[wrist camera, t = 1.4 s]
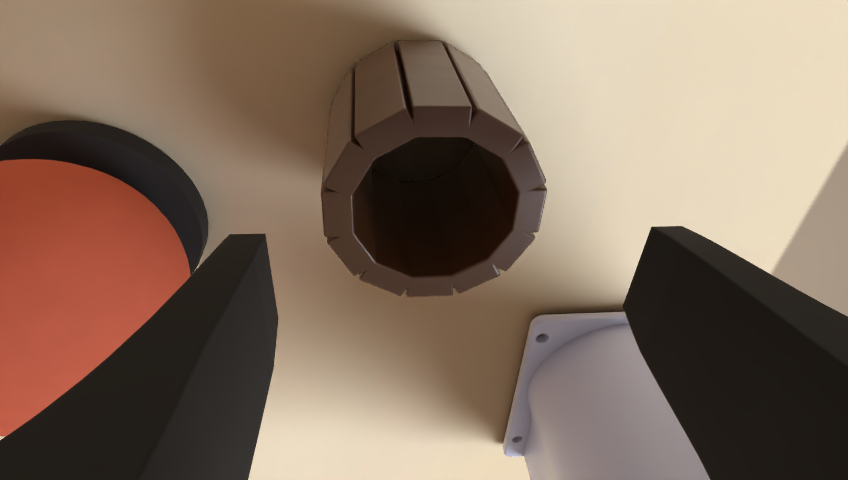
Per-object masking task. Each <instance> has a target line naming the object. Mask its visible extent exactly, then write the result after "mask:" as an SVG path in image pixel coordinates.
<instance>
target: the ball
mask: <svg viewBox="0 0 848 480" xmlns="http://www.w3.org/2000/svg"><path fill="white" fill-rule="evenodd" d="M207 237H208V218H207V212H206V209H205V206H204V203H203V200H202V198H201V196H200V194H199V192H198V190H197V188H196V187H195V185H194V184H193V182H192V181H191V179H190V178H189V177H188V176H187V174H186V173H185V172H184V171H183V170H182V169H181V168H180V167H179V166H178V165H177V164H176V163H175V162H174V161H173V160H172V159H171V158H170V157H168V156H167V155H166V154H164V153H163V152H162V151H161V150H159V149H158V148H156V147H154V146H153V145H151V144H150V143H148V142H146V141H145V140H143V139H141V138H139V137H137V136H135V135H133V134H130V133H127V132H125V131H122V130H120V129H117V128H113V127H110V126H106V125H103V124H97V123H91V122H86V121H53V122H48V123H42V124H38V125H35V126H32V127H29V128H26V129H24V130H22V131H20V132H18V133H17V134H15V135H13V136H12V137H11V138H9V139H8V140H7V141H6V142H4V143H3V144H2V145H0V436H7V435H9V434H10V433H12V432H13V431H14V430H16V429H17V428H19V427H20V426H22V425H23V424H24V423H26V422H27V421H29V420H30V419H32V418H33V417H34V416H36V415H37V414H38V413H40V412H41V411H42V410H44V409H45V408H46V407H47V406H49V405H50V404H51V403H53V402H54V401H55V400H56V399H58V398H59V397H60V396H61V395H63V394H64V393H65V392H67V391H68V390H69V389H70V388H72V387H73V386H74V385H75V384H77V383H78V382H79V381H80V380H82V379H83V378H84V377H85V376H87V375H88V374H89V373H90V372H91V371H93V370H94V369H95V368H96V367H97V366H98V365H100V364H101V363H102V362H103V361H104V360H105V359H106V358H108V357H109V356H110V355H111V354H112V353H113V352H114V351H115V350H116V349H117V348H118V347H120V346H121V345H122V344H123V343H124V342H125V341H126V340H127V339H128V338H129V337H130V336H131V335H132V334H134V333H135V332H136V331H137V330H138V329H139V328H140V327H141V326H142V325H143V324H144V323H145V322H146V321H147V320H148V319H149V318H150V317H152V316H153V315H154V314H155V313H156V312H157V310H158V309H159V308H160V307H161V306H162V305H163V304H164V303H165V302H166V301H167V300H168V299H169V298H170V297H171V296H172V295H173V294H174V293H175V292H176V291H177V290H178V289H179V288H180V287H181V286H182V285H183V284H184V283H185V282H186V281H187V279H188V278H189V277H190V276H191V275H192V274H193V272H194V270H195V269H196V267H197V265H198V263H199V261H200V258H201V256H202V253H203V251H204V248H205V246H206V242H207Z"/></svg>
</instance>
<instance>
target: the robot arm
mask: <svg viewBox="0 0 848 480" xmlns="http://www.w3.org/2000/svg"><path fill="white" fill-rule="evenodd" d="M623 308H624V311H625V312H601V313H575V314H550V315H540V316H537V317H535V318H534V319H533V320H532V322H531V324H530V328H529V332H528V336H527V341H526V345H525V350H524V354H523V359H522V363H521V367H520V372H519V376H518V381H517V385H516V390H515V394H514V398H513V403H512V407H511V412H510V416H509V421H508V425H507V429H506V434H505V438H504V443H503V450H504V454H505V455H507V456H510V457H516V456H524V458H525V461H526V465H527V468H528V472H529V475H530V479H531V480H848V317H847V316H845V315H843V314H841V313H839V312H838V311H836V310H834V309H832V308H830V307H828V306H826V305H824V304H823V303H821V302H819V301H817V300H815V299H813V298H812V297H810V296H808V295H806V294H804V293H802V292H801V291H799V290H797V289H795V288H794V287H792V286H790V285H788V284H786V283H785V282H783V281H781V280H779V279H778V278H776V277H774V276H772V275H771V274H769V273H767V272H765V271H764V270H762V269H760V268H758V267H757V266H755V265H753V264H751V263H750V262H748V261H746V260H745V259H743V258H741V257H739V256H738V255H736V254H734V253H732V252H731V251H729V250H727V249H725V248H723V247H722V246H720V245H718V244H716V243H714V242H713V241H711V240H709V239H707V238H705V237H703V236H701V235H699V234H697V233H695V232H693V231H691V230H689V229H687V228H685V227H682V226H667V227H651V230H650V233H649V235H648V238H647V241H646V244H645V246H644V249H643V252H642V255H641V257H640V260H639V263H638V266H637V269H636V271H635V274H634V277H633V280H632V282H631V285H630V288H629V291H628V293H627V296H626V299H625V302H624V304H623ZM277 327H278V314H277V307H276V301H275V294H274V287H273V281H272V274H271V268H270V261H269V255H268V248H267V242H266V235H265V234H230V235H229V236H228V237H227V238H226V239H225V240H224V241H223V242H222V243H221V244H220V245H219V246H218V247H217V248H216V249H215V250H214V251H213V252H212V253H211V254H210V256H209V257H208V258H207V259H206V260H205V261H204V262H203V263H202V264H201V265H200V267H199V268H198V269H197V270H196V271H195V272H194V273H193V274H192V275H191V276H190V277H189V278H188V279H187V281H186V282H185V283H184V284H183V285H182V286H181V287H180V288H179V289H178V290H177V291H176V292H175V293H174V294H173V295H172V296H171V297H170V298H169V299H168V300H167V301H166V302H165V303H164V304H163V305H162V306H161V307H160V308H159V309H158V310H157V312H156V313H155V314H154V315H153V316H152V317H150V318H149V319H148V320H147V321H146V322H145V323H144V324H143V325H142V326H141V327H140V328H139V329H138V330H137V331H136V332H135V333H134V334H132V335H131V336H130V337H129V338H128V339H127V340H126V341H125V342H124V343H123V344H122V345H121V346H120V347H118V348H117V349H116V350H115V351H114V352H113V353H112V354H111V355H110V356H109V357H108V358H106V359H105V360H104V361H103V362H102V363H101V364H100V365H98V366H97V367H96V368H95V369H94V370H93V371H91V372H90V373H89V374H88V375H87V376H85V377H84V378H83V379H82V380H80V381H79V382H78V383H77V384H75V385H74V386H73V387H72V388H70V389H69V390H68V391H67V392H65V393H64V394H63V395H61V396H60V397H59V398H58V399H56V400H55V401H54V402H53V403H51V404H50V405H49V406H47V407H46V408H45V409H44V410H42V411H41V412H40V413H38V414H37V415H36V416H34V417H33V418H32V419H30V420H29V421H27V422H26V423H24V424H23V425H22V426H20V427H19V428H17V429H16V430H14V431H13V432H12V433H10V434H9V435H7V436H6V437H4V438H3V439H2V440H0V480H248V478H249V473H250V469H251V464H252V460H253V456H254V451H255V447H256V443H257V438H258V434H259V430H260V425H261V421H262V417H263V412H264V408H265V404H266V399H267V395H268V390H269V386H270V381H271V377H272V372H273V367H274V357H275V348H276V338H277ZM540 334H543V335H541V336H539V335H540Z"/></svg>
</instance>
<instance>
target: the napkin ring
mask: <svg viewBox="0 0 848 480" xmlns="http://www.w3.org/2000/svg"><path fill="white" fill-rule="evenodd" d="M416 137H465V138H467V139H469V140H471V141H472V142H474V145H473V146H472V148H471V149H470V150H469V152H468V153H467V155H466V156H465V157H464V159H463V160H462V161H461V163H460V164H459V166H458V167H457V168H455V169H453V170H451V171H450V172H448V173H446V174H444V175H442V176H440V177H438V178H436V179H434V180H432V181H428V182H398V181H396V180H394V179H392V178H390V177H388V176H386V175H384V174H382V173H380V172H378V171H376V170H375V169H373V168H371V165H372V163H373V162H374V160H375V159H376V158H378V157H380V156H382V155H384V154H386V153H388V152H390V151H392V150H393V149H395V148H397V147H399V146H401V145H403V144H405V143H407V142H409V141H411V140H412V139H414V138H416ZM545 183H546V179H545V176H544V174H543V172H542V170H541V167H540V165H539V163H538V160H537V158H536V156H535V153H534V151H533V149H532V146H531V144H530V142H529V140H528V139H527V137H526V135H525V134H524V132H523V131H522V129H521V127H520V126H519V124H518V122H517V121H516V119H515V118H514V116H513V114H512V113H511V111H510V110H509V108H508V106H507V105H506V103H505V102H504V100H503V98H502V97H501V95H500V93H499V92H498V90H497V89H496V87H495V85H494V84H493V82H492V81H491V79H490V77H489V76H488V74H487V72H486V71H485V70H483V69H482V67H481V65H480V64H479V63H477V62H476V61H474V60H473V59H471V58H469V57H468V56H466V55H465V54H463V53H462V52H460V51H459V50H457V49H456V48H454V47H453V46H451V45H449V44H446V45H445V46H444V47H443V45H442V42H441V41H411V40H399V41H398V50H397V49H396V47H395V45H394V43H393V42H391V43H389V44H387V45H386V46H384V47H382V48H380V49H379V50H377V51H375V52H374V53H372V54H370V55H368V56H367V57H365V58H363V59H361V60H360V61H358V62H356V63H355V69H354V68H350V70H349V72H348V73H347V75H346V77H345V79H344V81H343V83H342V84H341V86H340V88H339V90H338V92H337V93H336V95H335V97H334V99H333V101H332V106H331V109H330V116H329V125H328V134H327V143H326V152H325V161H324V170H323V179H322V188H321V200H322V213H323V226H324V235H325V237H328V238H327V243H328V244H329V245H330V247H331V248H332V249H333V250H334V252H335V253H336V254H337V255H338V257H339V258H340V259H341V260H342V261H343V263H344V264H345V265H346V266H347V268H348V269H349V270H350V271H351V273H352V274H353V275H354V276H356V275H358V274H359V279H360V280H362V281H364V282H366V283H369V284H371V285H374V286H376V287H379V288H381V289H384V290H386V291H389V292H391V293H394V294H396V295H398V296H401V295H402V294H403V292H404V291H405V290H406V295H407V297H427V296H451V295H452V294H453V288H455V289H456V291H457V292H458V293H462V292H464V291H467V290H469V289H471V288H473V287H475V286H478V285H480V284H482V283H484V282H486V281H489V280H491V279H493V278H495V277H497V276H499V275H500V271H499V269H502V270H504V271H507V270H508V269H509V268H510V266H511V265H512V264H513V263H514V262H515V261H516V260H517V258H518V257H519V256H520V255H521V254H522V253H523V252H524V250H525V249H526V248H527V247H528V246H529V245H530V244H531V243H532V241H533V240H534V239H535V236H534V234H533V232H538V231H539V227H540V222H541V217H542V213H543V208H544V203H545V198H546V193H547V188H546V186H545V185H544V184H545Z"/></svg>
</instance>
